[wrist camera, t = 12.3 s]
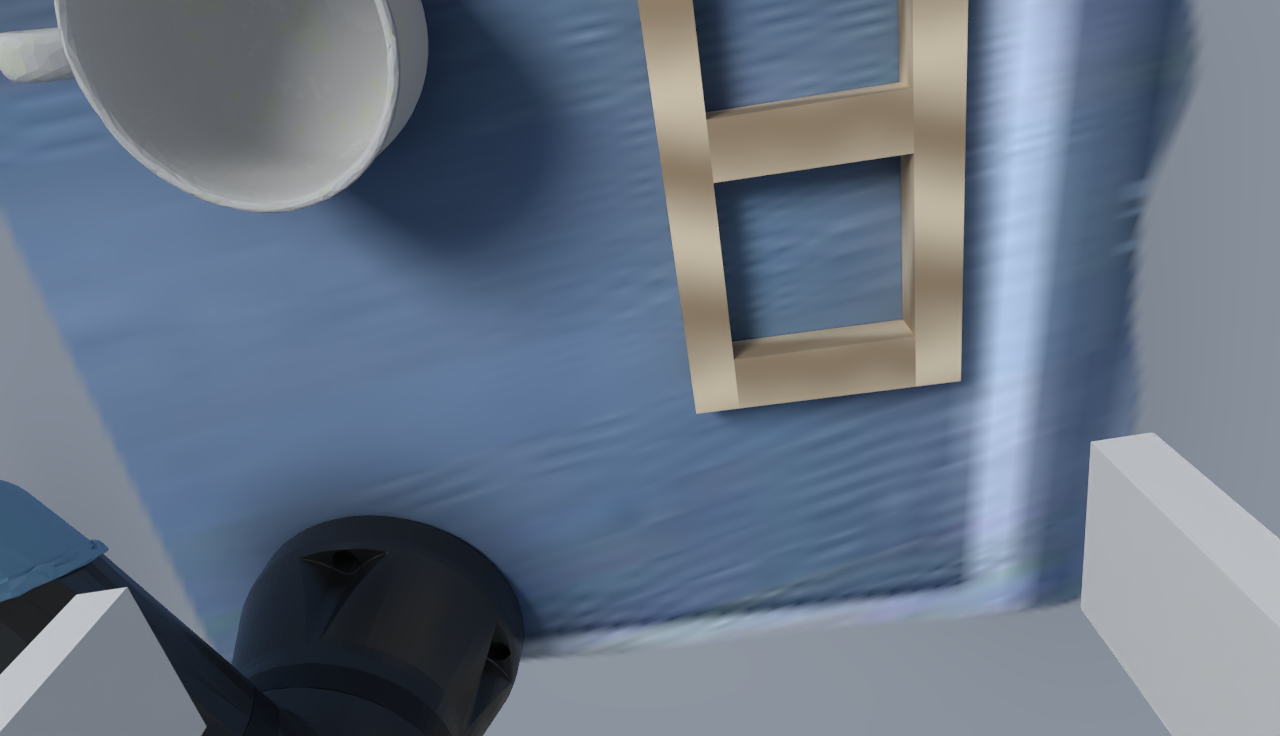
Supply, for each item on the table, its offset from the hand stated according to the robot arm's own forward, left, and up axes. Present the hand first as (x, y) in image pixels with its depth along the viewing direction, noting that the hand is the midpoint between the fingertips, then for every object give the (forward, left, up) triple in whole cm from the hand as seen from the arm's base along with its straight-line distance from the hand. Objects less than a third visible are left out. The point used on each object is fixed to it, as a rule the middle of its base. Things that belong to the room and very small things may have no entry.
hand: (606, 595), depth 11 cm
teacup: (-5, +15, -26) cm, 31 cm away
